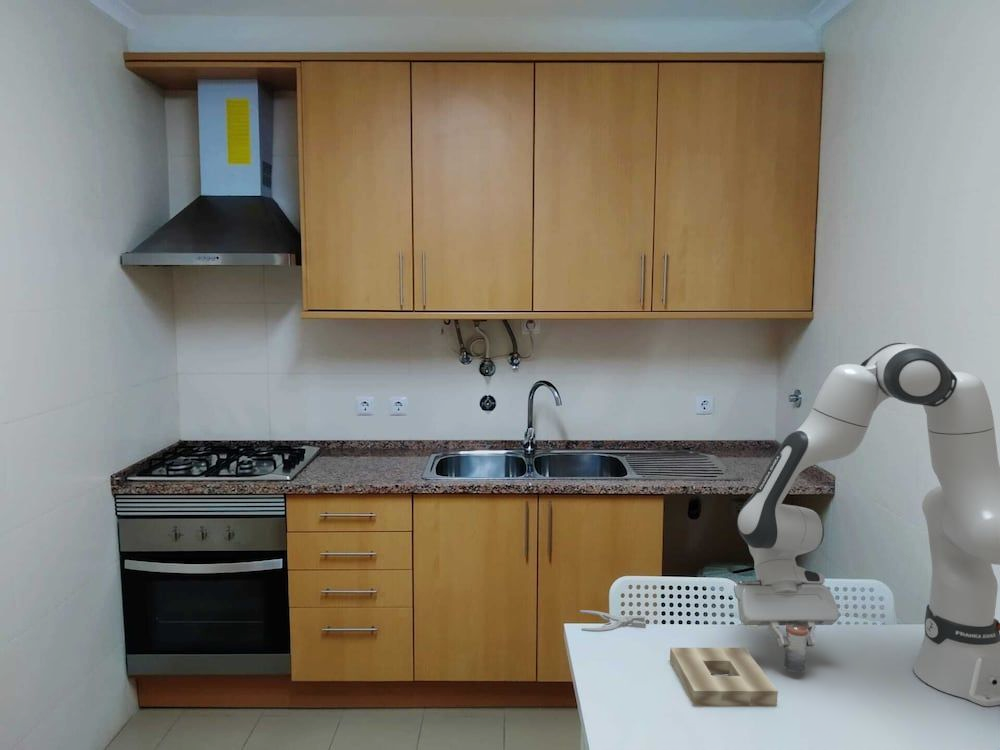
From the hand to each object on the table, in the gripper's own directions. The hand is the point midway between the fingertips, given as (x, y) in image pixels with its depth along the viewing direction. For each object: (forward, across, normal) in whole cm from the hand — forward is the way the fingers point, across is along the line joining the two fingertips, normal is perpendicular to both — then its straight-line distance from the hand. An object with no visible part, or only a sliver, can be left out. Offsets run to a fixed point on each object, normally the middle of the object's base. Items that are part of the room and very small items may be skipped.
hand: (797, 646), depth 141 cm
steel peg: (+3, 0, +4) cm, 5 cm away
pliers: (-11, -33, +21) cm, 41 cm away
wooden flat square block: (+6, -16, +3) cm, 18 cm away
